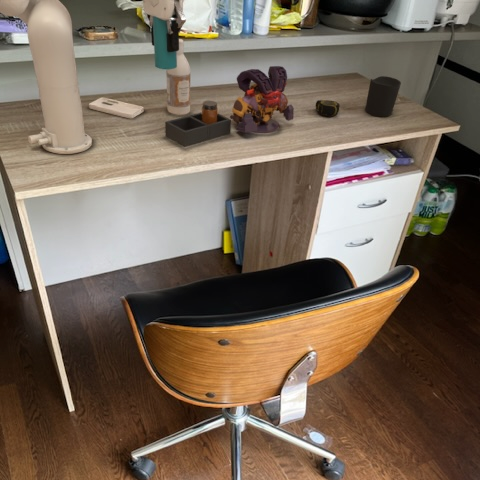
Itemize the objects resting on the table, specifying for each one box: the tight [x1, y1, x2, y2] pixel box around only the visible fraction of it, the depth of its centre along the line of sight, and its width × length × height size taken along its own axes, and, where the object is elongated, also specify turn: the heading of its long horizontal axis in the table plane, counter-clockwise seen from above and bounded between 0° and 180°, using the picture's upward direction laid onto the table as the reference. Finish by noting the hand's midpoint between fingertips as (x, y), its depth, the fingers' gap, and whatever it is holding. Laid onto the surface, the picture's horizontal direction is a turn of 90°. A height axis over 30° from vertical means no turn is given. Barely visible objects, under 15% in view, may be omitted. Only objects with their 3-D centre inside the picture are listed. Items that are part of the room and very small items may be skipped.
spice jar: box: [201, 100, 219, 125], centre depth 147 cm, size 4×4×8 cm
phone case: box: [88, 96, 145, 119], centre depth 158 cm, size 7×1×15 cm
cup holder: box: [164, 112, 232, 148], centre depth 146 cm, size 16×9×5 cm, turn 133°
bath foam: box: [165, 38, 191, 115], centre depth 154 cm, size 7×7×20 cm
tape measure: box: [315, 99, 341, 117], centre depth 167 cm, size 7×7×4 cm
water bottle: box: [153, 15, 177, 70], centre depth 126 cm, size 5×5×15 cm
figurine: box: [229, 65, 295, 134], centre depth 150 cm, size 20×14×17 cm
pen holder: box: [364, 75, 402, 118], centre depth 169 cm, size 9×9×10 cm
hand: (165, 47), depth 128 cm, fingers closed on water bottle, 5 cm apart
